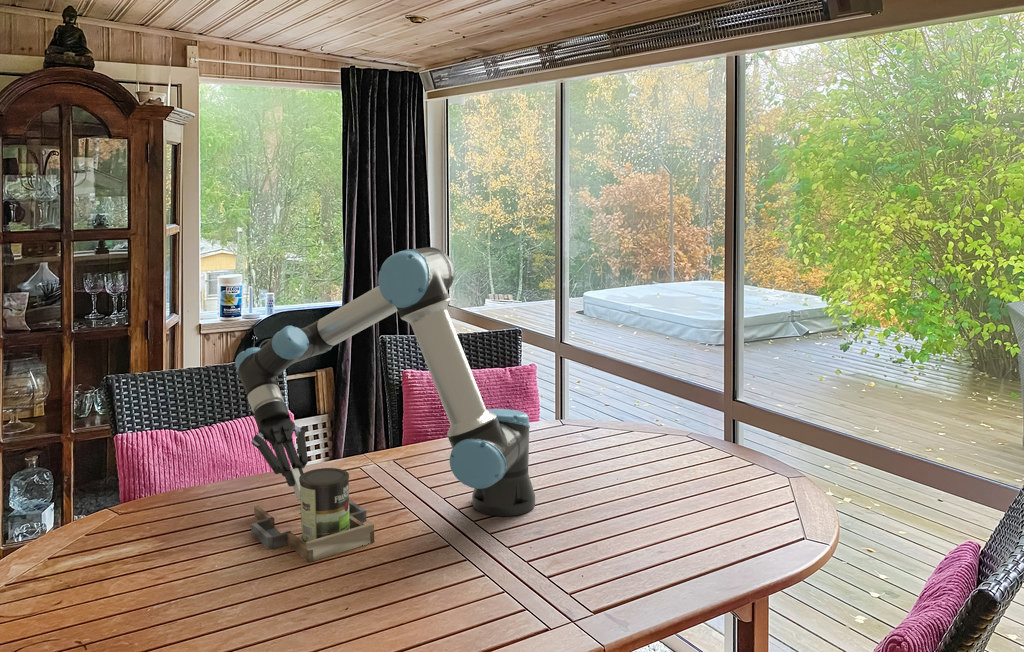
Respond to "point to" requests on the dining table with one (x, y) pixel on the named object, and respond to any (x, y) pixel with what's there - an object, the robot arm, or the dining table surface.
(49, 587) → the dining table surface
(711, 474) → the dining table surface
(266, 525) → the box
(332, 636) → the dining table surface
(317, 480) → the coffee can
